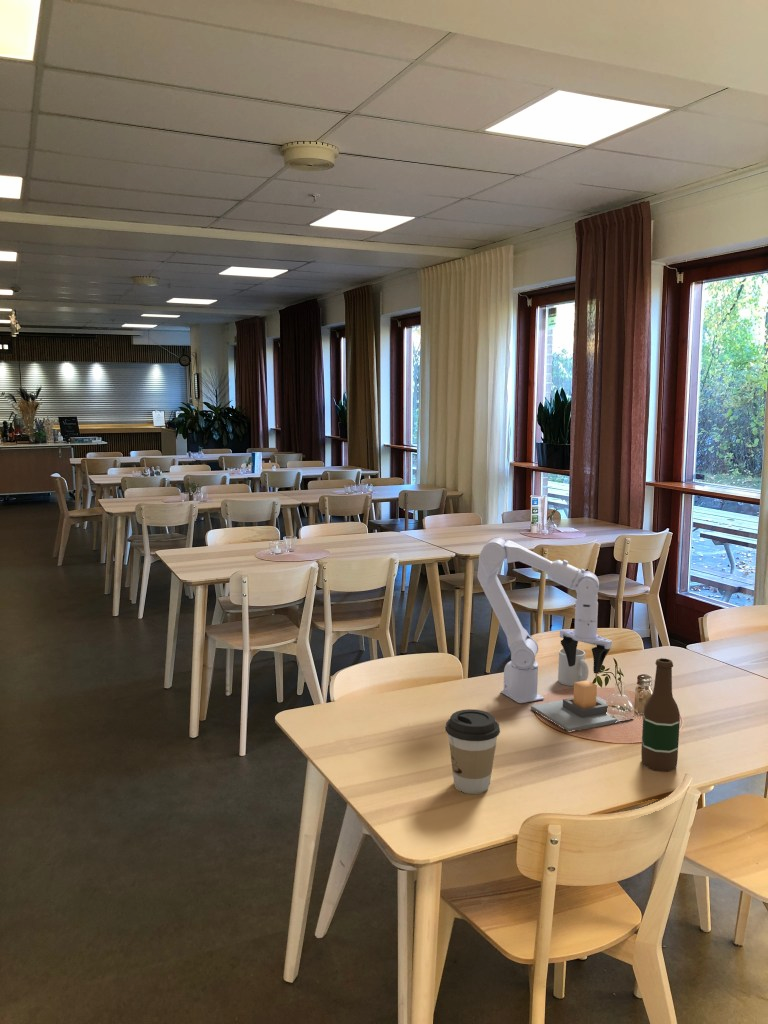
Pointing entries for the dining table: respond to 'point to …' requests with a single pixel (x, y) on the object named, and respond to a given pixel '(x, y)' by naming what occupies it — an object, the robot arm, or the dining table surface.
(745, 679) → the dining table surface
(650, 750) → the beer bottle
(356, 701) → the dining table surface
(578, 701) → the orange rectangular block
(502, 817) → the dining table surface
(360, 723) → the dining table surface
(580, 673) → the cup
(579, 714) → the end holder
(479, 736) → the coffee cup
